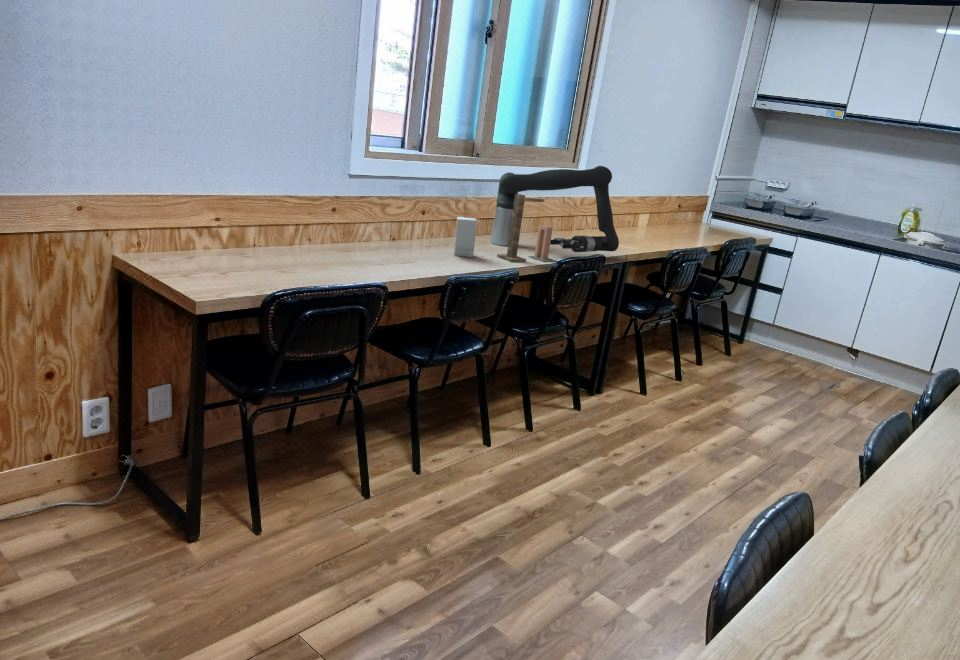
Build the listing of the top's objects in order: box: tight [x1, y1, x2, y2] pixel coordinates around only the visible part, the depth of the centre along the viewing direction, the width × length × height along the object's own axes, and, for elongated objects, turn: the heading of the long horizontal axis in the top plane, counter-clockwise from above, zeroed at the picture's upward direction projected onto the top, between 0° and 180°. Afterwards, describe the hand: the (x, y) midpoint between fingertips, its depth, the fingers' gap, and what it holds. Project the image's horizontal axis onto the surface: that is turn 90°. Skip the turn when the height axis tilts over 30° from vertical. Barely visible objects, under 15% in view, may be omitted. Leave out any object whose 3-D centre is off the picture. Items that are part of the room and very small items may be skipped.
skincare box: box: [453, 216, 478, 258], centre depth 310 cm, size 8×7×16 cm
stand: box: [496, 193, 545, 263], centre depth 315 cm, size 10×17×28 cm, turn 127°
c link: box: [534, 224, 554, 259], centre depth 325 cm, size 6×3×14 cm, turn 36°
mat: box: [527, 255, 558, 263], centre depth 326 cm, size 10×8×1 cm
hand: (556, 244), depth 330 cm, fingers open, 8 cm apart
